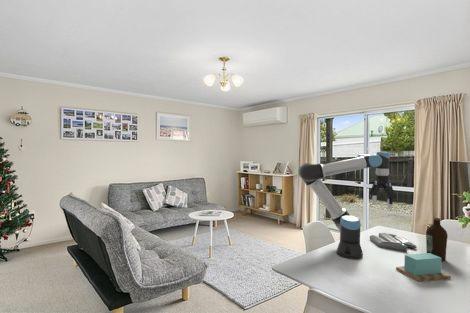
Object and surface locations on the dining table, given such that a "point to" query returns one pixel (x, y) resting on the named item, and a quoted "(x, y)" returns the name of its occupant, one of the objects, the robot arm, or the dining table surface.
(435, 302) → the dining table surface
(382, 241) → the emblem
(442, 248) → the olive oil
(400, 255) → the dining table surface
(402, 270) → the seat
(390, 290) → the dining table surface
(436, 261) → the teal rectangular block
